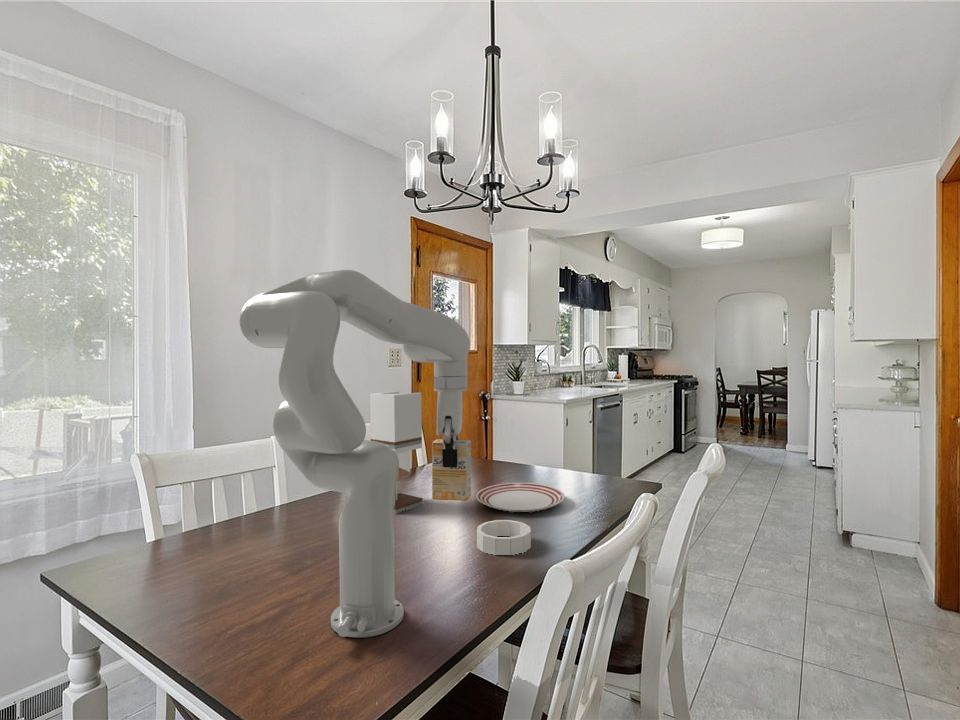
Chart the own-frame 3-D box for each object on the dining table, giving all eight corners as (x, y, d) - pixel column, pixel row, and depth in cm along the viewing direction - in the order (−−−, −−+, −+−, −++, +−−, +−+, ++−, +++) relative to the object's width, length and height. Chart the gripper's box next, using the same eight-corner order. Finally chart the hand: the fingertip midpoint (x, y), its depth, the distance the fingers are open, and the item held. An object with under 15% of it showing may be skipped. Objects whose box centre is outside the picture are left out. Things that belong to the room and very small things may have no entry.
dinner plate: (555, 522, 140) (555, 510, 140) (463, 513, 149) (463, 502, 149) (571, 496, 166) (570, 485, 166) (491, 489, 175) (491, 479, 175)
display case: (395, 514, 148) (394, 395, 148) (371, 507, 154) (370, 393, 154) (422, 504, 157) (421, 392, 157) (398, 499, 164) (397, 391, 163)
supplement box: (431, 500, 113) (430, 442, 113) (437, 494, 118) (436, 438, 117) (467, 502, 111) (466, 442, 111) (472, 495, 116) (471, 439, 116)
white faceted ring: (531, 556, 116) (531, 538, 116) (475, 555, 117) (475, 538, 117) (529, 535, 129) (529, 520, 129) (479, 535, 130) (479, 519, 130)
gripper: (439, 382, 123) (440, 456, 123) (427, 386, 106) (428, 473, 106) (470, 381, 122) (471, 456, 123) (463, 386, 105) (464, 473, 105)
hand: (451, 463), depth 114 cm, fingers closed on supplement box, 5 cm apart
